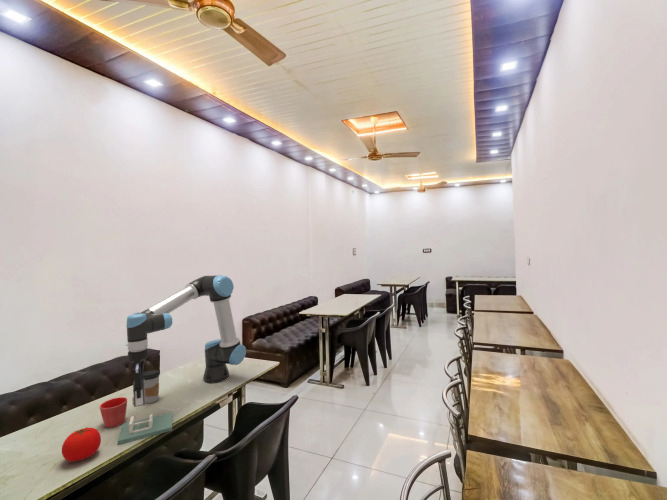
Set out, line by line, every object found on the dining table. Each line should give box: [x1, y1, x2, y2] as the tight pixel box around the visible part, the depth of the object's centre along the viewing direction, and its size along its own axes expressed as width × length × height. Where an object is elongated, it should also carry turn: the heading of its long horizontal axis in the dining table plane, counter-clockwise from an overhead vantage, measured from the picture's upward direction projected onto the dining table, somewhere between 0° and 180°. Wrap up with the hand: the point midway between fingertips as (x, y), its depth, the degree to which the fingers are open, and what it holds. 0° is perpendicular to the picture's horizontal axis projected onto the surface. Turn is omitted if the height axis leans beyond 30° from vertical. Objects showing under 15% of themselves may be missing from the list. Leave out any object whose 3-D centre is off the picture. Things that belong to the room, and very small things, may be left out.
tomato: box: [61, 426, 102, 463], centre depth 124 cm, size 12×12×10 cm
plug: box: [131, 379, 146, 408], centre depth 141 cm, size 5×4×10 cm
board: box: [116, 411, 173, 446], centre depth 142 cm, size 20×15×6 cm
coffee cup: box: [143, 369, 160, 404], centre depth 170 cm, size 8×8×15 cm
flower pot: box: [99, 396, 128, 429], centre depth 149 cm, size 11×11×10 cm
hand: (139, 402), depth 141 cm, fingers closed on plug, 4 cm apart
